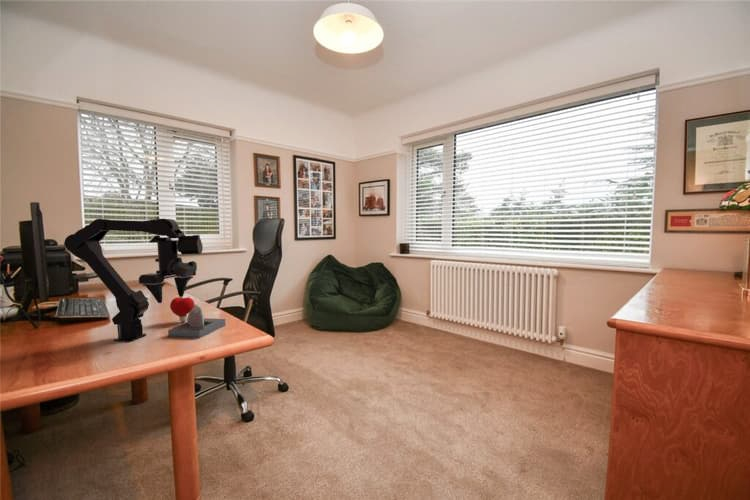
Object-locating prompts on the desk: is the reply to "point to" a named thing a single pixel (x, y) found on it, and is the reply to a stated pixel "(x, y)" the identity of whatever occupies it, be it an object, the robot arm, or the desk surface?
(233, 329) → the desk surface
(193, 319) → the pale grey rock
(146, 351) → the desk surface
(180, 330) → the socket block
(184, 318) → the light bulb
